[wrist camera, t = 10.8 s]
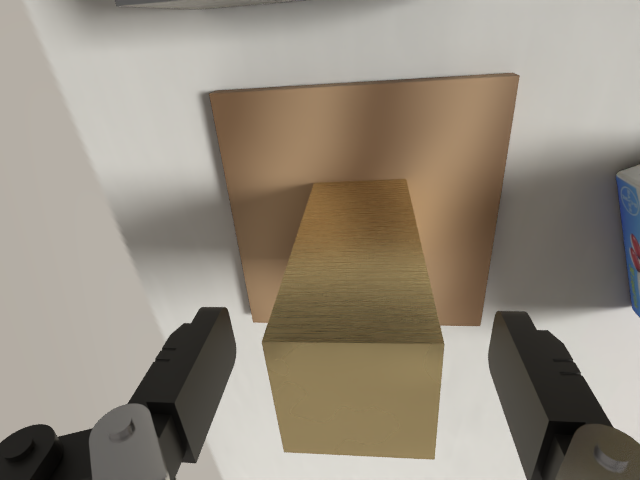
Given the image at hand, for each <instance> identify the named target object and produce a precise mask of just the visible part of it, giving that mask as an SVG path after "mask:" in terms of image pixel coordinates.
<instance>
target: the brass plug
mask: <svg viewBox="0 0 640 480" xmlns="http://www.w3.org/2000/svg"><path fill="white" fill-rule="evenodd" d="M262 346H263V351H264V356H265V360H266V365H267V370H268V375H269V380H270V385H271V390H272V395H273V400H274V405H275V410H276V415H277V420H278V425H279V430H280V434H281V439H282V444H283V449H284V452H291V453H312V454H332V455H353V456H373V457H394V458H414V459H435V447H436V435H437V423H438V412H439V400H440V388H441V377H442V365H443V353H444V341H443V337H442V332H441V328H440V324H439V319H438V315H437V310H436V306H435V302H434V297H433V293H432V289H431V284H430V280H429V276H428V271H427V267H426V263H425V258H424V254H423V250H422V245H421V241H420V237H419V232H418V228H417V223H416V219H415V215H414V210H413V206H412V202H411V197H410V193H409V189H408V184H407V180H406V179H391V180H367V181H343V182H319V183H314V184H313V187H312V191H311V194H310V197H309V200H308V203H307V206H306V209H305V212H304V215H303V218H302V221H301V224H300V227H299V230H298V233H297V236H296V239H295V242H294V245H293V248H292V251H291V254H290V258H289V261H288V264H287V267H286V270H285V273H284V276H283V279H282V282H281V285H280V288H279V291H278V294H277V297H276V300H275V303H274V306H273V309H272V312H271V315H270V318H269V322H268V325H267V328H266V331H265V334H264V337H263V340H262Z"/></svg>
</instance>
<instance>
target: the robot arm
mask: <svg viewBox="0 0 640 480" xmlns="http://www.w3.org/2000/svg"><path fill="white" fill-rule="evenodd" d="M235 359H236V343H235V338H234V334H233V330H232V325H231V321H230V316H229V312H228V310H227V308H225V307H201V308H200V309H199V311H198V312H197V314H196V316H195V317H194V319H193V321H192V323H184V324H183V325H181V326H180V327H179V328H178V329H177V330H176V331H174V332H173V333H172V334H171V335H170V336H169V338H168V340H167V341H166V343H165V345H164V346H163V348H162V351H160V352H159V354H158V356H157V357H156V360H155V362H153V364H152V365H151V367H150V368H149V370H148V372H147V373H146V375H145V377H144V378H143V380H142V381H141V383H140V385H139V386H138V388H137V389H136V391H135V393H134V394H133V396H132V397H131V399H130V401H129V402H128V404H126V405H122V406H119V407H117V408H115V409H113V410H111V411H110V412H108V413H107V414H105V415H104V416H103V417H102V418H101V419H100V420H99V421H98V422H97V423H96V424H95V426H94V427H93V428H92V429H89V430H84V431H80V432H76V433H72V434H68V435H64V436H59V437H57V435H56V434H55V432H54V430H53V429H52V428H51V427H50V426H48V425H43V424H38V425H32V426H29V427H25V428H23V429H21V430H18V431H17V432H15V433H13V434H11V435H10V436H8V437H7V438H6V439H5V440H3V441H2V442H1V443H0V480H177V478H176V474H177V472H178V469H179V467H180V465H181V462H186V463H196V462H197V459H198V457H199V454H200V452H201V449H202V446H203V444H204V441H205V439H206V436H207V434H208V431H209V428H210V426H211V423H212V421H213V418H214V415H215V413H216V410H217V408H218V405H219V403H220V400H221V397H222V395H223V392H224V390H225V387H226V384H227V382H228V379H229V377H230V374H231V371H232V369H233V366H234V363H235ZM488 361H489V368H490V373H491V376H492V379H493V382H494V385H495V388H496V391H497V393H498V396H499V399H500V402H501V405H502V408H503V411H504V414H505V417H506V420H507V423H508V426H509V429H510V432H511V434H512V437H513V440H514V443H515V446H516V449H517V452H518V455H519V458H520V461H521V464H522V467H523V470H524V473H525V476H526V478H527V480H640V444H639V443H638V442H636V441H635V440H634V439H633V438H631V437H630V436H628V435H627V434H625V433H623V432H622V431H620V430H618V429H615V428H614V427H613V426H612V424H611V423H610V421H609V419H608V418H607V416H606V414H605V412H604V411H603V409H602V407H601V406H600V404H599V402H598V401H597V399H596V397H595V396H594V394H593V392H592V391H591V389H590V387H589V386H588V384H587V382H586V381H585V379H584V377H583V376H581V372H580V370H579V369H578V367H577V365H576V364H575V363H573V359H572V357H571V355H570V354H569V352H568V350H567V349H566V347H565V345H564V344H563V343H562V342H561V341H560V340H559V339H557V338H556V337H555V336H554V335H553V334H551V333H550V332H549V331H548V330H536V328H535V326H534V324H533V322H532V320H531V318H530V316H529V315H528V313H527V312H519V311H497V312H496V314H495V318H494V323H493V329H492V335H491V340H490V346H489V353H488Z"/></svg>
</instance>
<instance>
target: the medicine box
mask: <svg viewBox="0 0 640 480" xmlns="http://www.w3.org/2000/svg"><path fill="white" fill-rule="evenodd" d="M616 181H617V187H618V195H619V204H620V212H621V222H622V230H623V237H624V245H625V253H626V262H627V270H628V278H629V286H630V294H631V303H632V308H633V310H634V312H635V313H636V314H637V315H638V316H639V317H640V165H637V166H634V167H631V168H628V169H625V170H622V171H619V172H618V173H617V174H616Z"/></svg>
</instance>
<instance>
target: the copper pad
mask: <svg viewBox="0 0 640 480" xmlns="http://www.w3.org/2000/svg"><path fill="white" fill-rule="evenodd" d="M518 82H519V75H517V74H514V73H503V74H486V75H470V76H453V77H436V78H419V79H402V80H386V81H369V82H352V83H335V84H318V85H302V86H285V87H268V88H251V89H234V90H218V91H214V92H212V93H210V94H209V96H210V101H211V106H212V111H213V117H214V122H215V127H216V132H217V137H218V143H219V148H220V153H221V158H222V163H223V168H224V174H225V179H226V184H227V189H228V194H229V200H230V205H231V210H232V215H233V220H234V226H235V231H236V236H237V241H238V246H239V252H240V257H241V262H242V267H243V272H244V277H245V283H246V288H247V293H248V298H249V303H250V309H251V314H252V319H253V322H259V323H268V322H269V318H270V315H271V312H272V309H273V306H274V303H275V300H276V297H277V294H278V291H279V288H280V285H281V282H282V279H283V276H284V273H285V270H286V267H287V264H288V261H289V258H290V254H291V251H292V248H293V245H294V242H295V239H296V236H297V233H298V230H299V227H300V224H301V221H302V218H303V215H304V212H305V209H306V206H307V203H308V200H309V197H310V194H311V191H312V187H313V184H314V183H319V182H343V181H367V180H391V179H406V180H407V184H408V189H409V193H410V197H411V202H412V206H413V210H414V215H415V219H416V223H417V228H418V232H419V237H420V241H421V245H422V250H423V254H424V258H425V263H426V267H427V271H428V276H429V280H430V284H431V289H432V293H433V297H434V302H435V306H436V310H437V315H438V319H439V324H440V325H445V326H480V324H481V318H482V312H483V305H484V299H485V293H486V286H487V280H488V274H489V267H490V261H491V254H492V248H493V242H494V235H495V229H496V223H497V216H498V210H499V203H500V197H501V191H502V184H503V178H504V172H505V165H506V159H507V152H508V146H509V140H510V133H511V127H512V121H513V114H514V108H515V101H516V95H517V89H518Z"/></svg>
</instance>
